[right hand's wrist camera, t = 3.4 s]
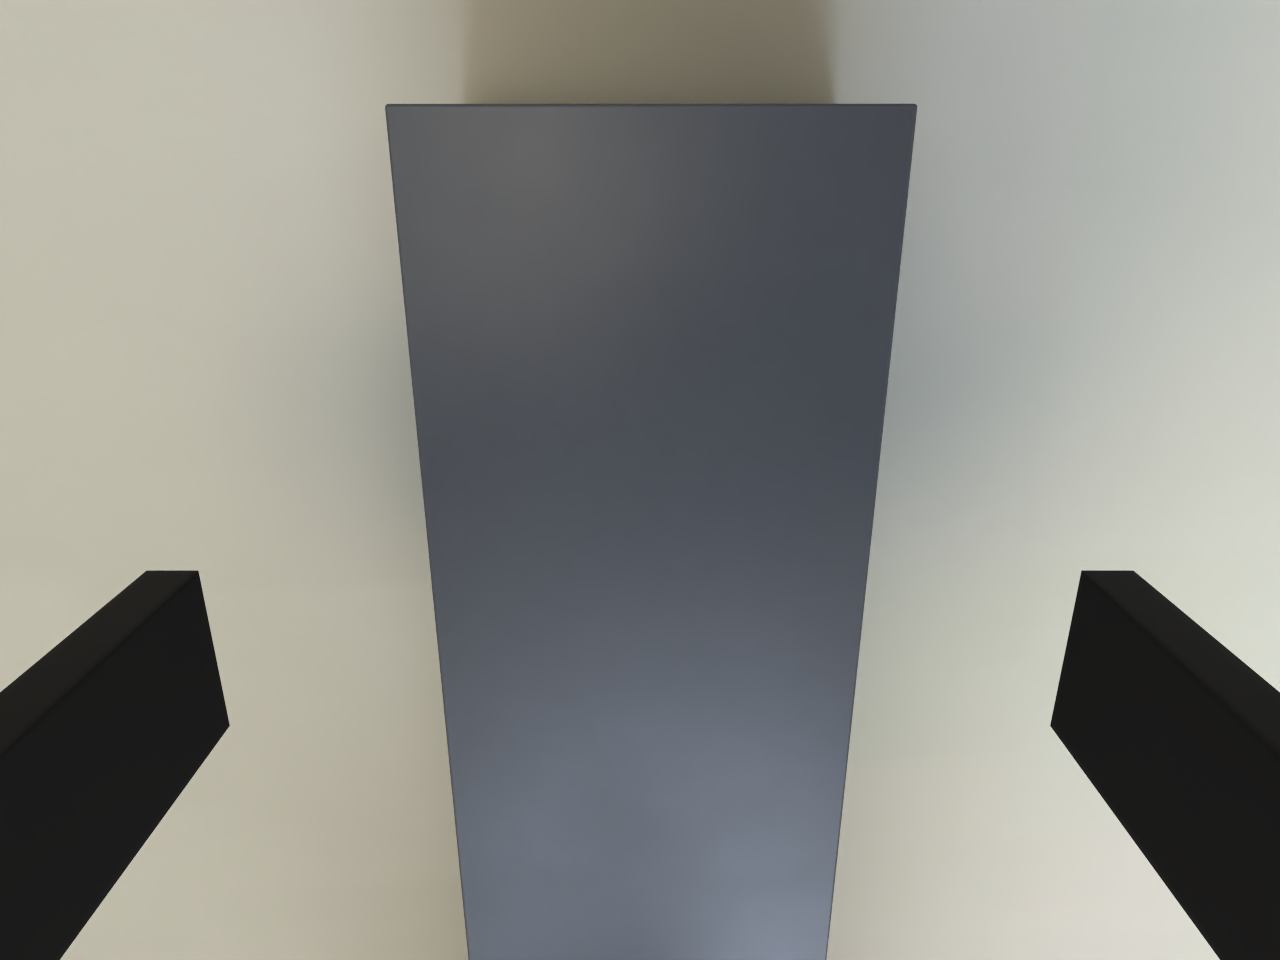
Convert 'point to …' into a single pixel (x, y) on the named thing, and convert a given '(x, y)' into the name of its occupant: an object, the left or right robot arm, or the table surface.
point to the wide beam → (649, 503)
